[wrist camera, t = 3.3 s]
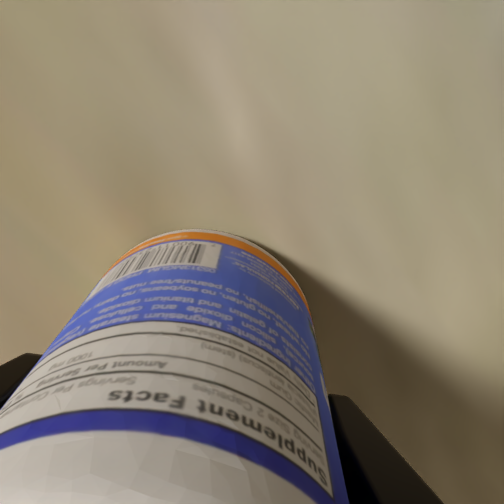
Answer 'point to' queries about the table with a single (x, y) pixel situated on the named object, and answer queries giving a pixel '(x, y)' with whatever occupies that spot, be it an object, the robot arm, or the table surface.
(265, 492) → the pill bottle
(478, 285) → the table surface
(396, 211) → the table surface
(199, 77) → the table surface
